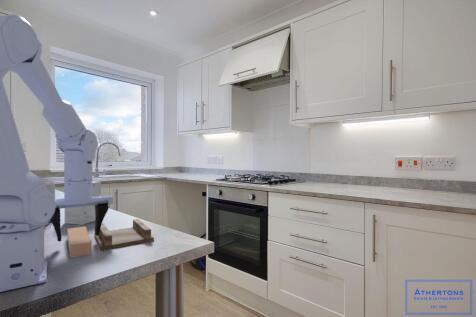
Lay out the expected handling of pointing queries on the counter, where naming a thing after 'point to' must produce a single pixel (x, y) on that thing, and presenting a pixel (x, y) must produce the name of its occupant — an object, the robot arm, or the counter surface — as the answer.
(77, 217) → the supplement box
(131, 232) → the brown wooden stand
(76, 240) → the clay strip
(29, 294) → the counter surface
